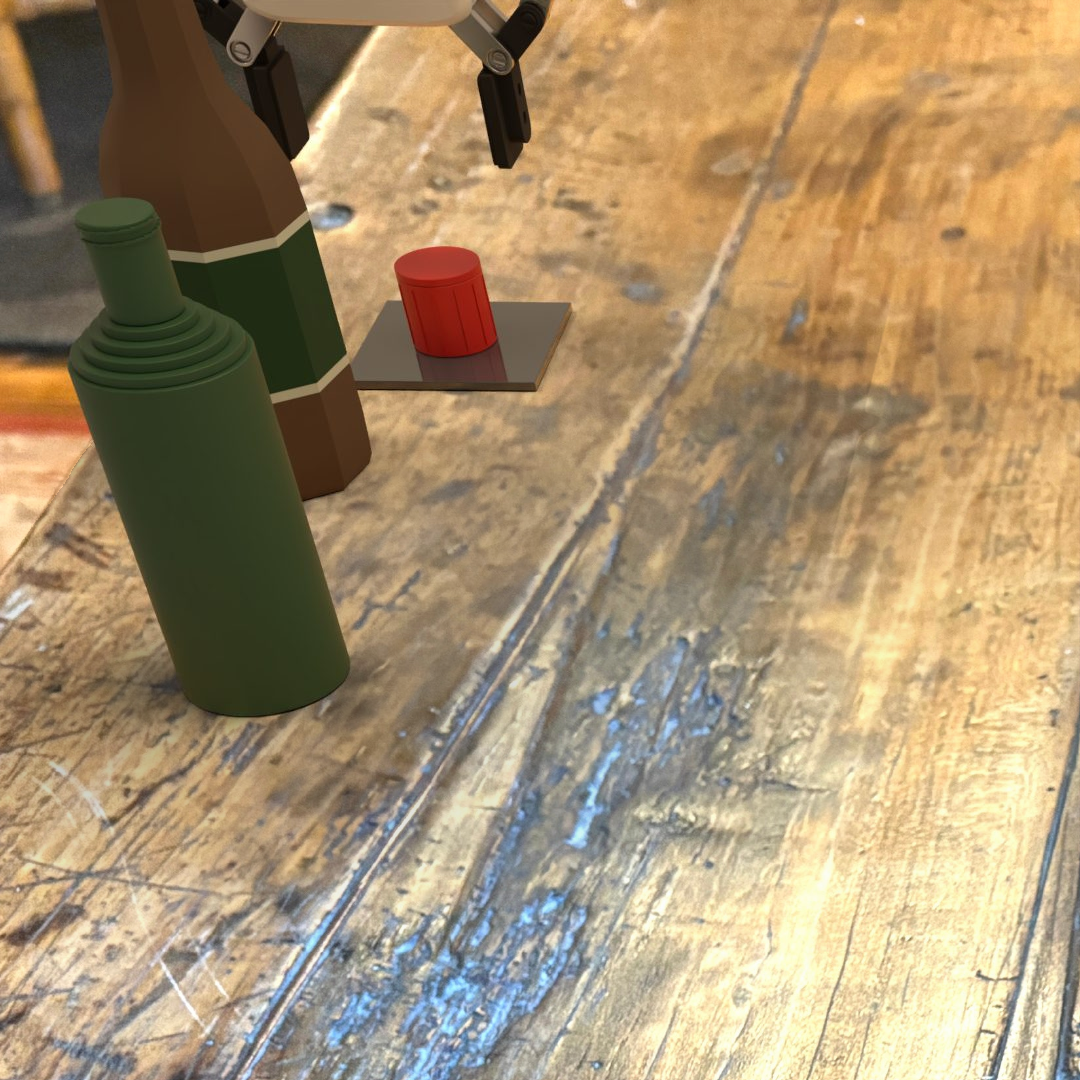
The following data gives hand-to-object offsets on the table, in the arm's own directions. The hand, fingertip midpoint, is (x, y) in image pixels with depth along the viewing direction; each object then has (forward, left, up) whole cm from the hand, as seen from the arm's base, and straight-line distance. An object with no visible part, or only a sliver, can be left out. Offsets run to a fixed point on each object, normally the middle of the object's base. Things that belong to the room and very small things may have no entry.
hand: (402, 155), depth 115 cm
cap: (0, 0, -9) cm, 9 cm away
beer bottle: (-5, -12, -9) cm, 16 cm away
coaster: (0, 0, -9) cm, 9 cm away
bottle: (-1, -30, -9) cm, 31 cm away
